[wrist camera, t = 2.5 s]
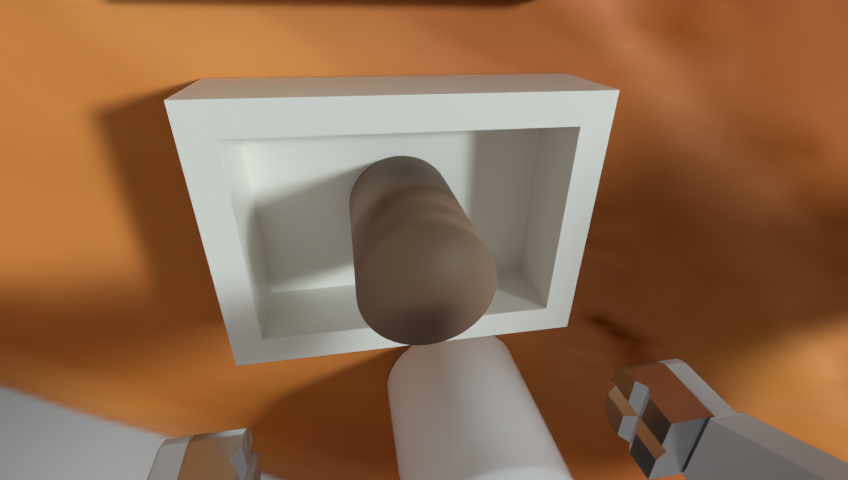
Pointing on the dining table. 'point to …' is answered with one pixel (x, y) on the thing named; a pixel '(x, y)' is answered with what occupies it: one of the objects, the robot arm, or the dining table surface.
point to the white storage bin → (349, 157)
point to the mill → (416, 254)
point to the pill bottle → (468, 416)
